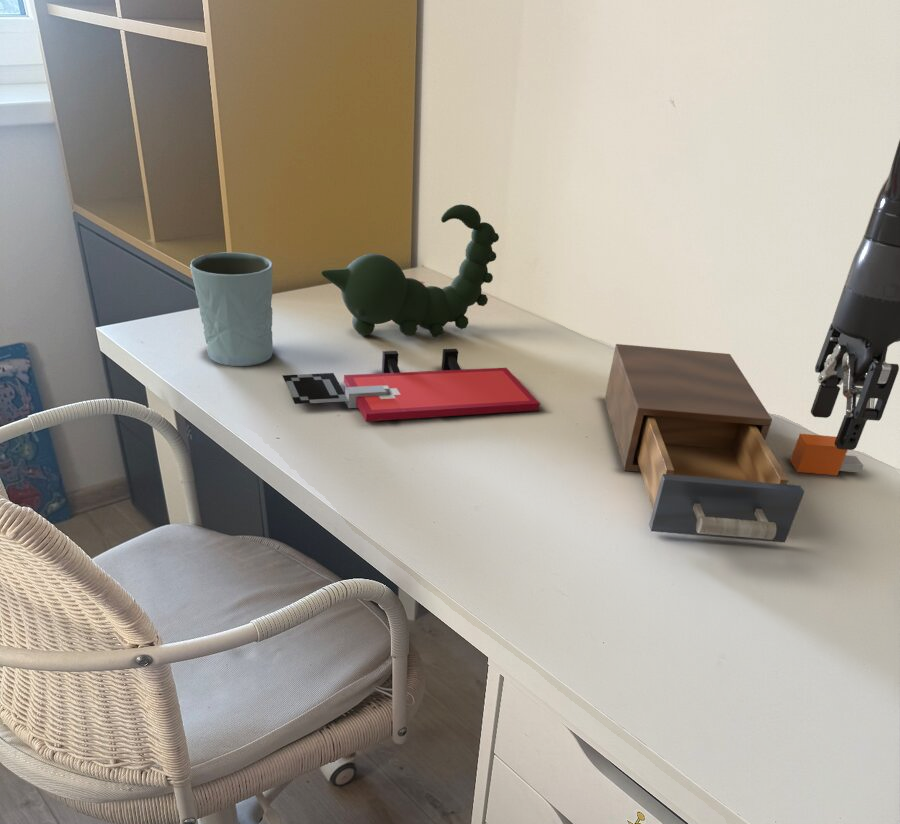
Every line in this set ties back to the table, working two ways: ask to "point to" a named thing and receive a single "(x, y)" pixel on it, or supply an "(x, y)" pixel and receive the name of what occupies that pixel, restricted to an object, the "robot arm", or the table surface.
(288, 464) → the table surface
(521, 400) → the red board with handle
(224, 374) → the table surface
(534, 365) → the table surface
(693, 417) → the cabinet
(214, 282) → the pale green cup
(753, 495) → the drawer
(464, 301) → the toy figurine
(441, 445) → the table surface
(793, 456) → the orange and grey block
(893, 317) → the robot arm
